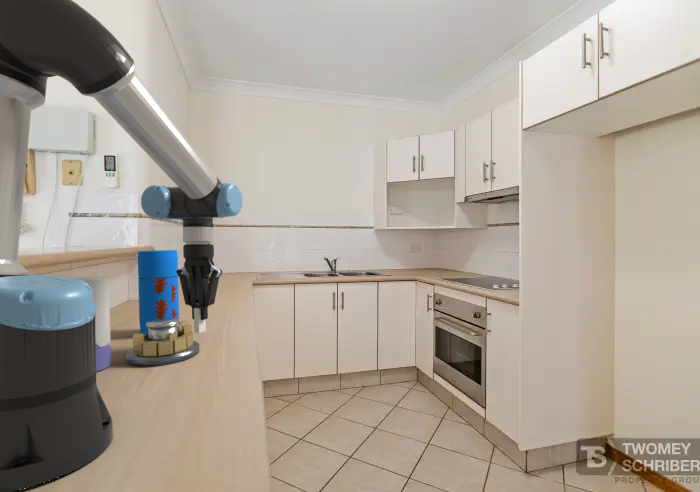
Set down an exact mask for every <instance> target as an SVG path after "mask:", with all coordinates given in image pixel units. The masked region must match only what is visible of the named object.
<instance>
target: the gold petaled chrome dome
mask: <svg viewBox="0 0 700 492" xmlns="http://www.w3.org/2000/svg"><path fill="white" fill-rule="evenodd" d="M193 341H194V333H193V331H192V325H191V324H189V321H188V320H180V323H179V324H178V337H177V333H175V332H172V333H167V340H162V341H149V332H148V333H144V334H143V333H140V332H139V333H133V334H132V342H133V343H132V345H133V347H132V349H133V353H134V355H138V356H143V357H146V356H158V355H159V356H162V355H169V354H173V353H178V352H181V351H184V350H186V349H189V348H190V347H191V346H193Z"/></svg>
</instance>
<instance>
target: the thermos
mask: <svg viewBox="0 0 700 492" xmlns="http://www.w3.org/2000/svg"><path fill="white" fill-rule="evenodd" d="M178 256H179V255H178V250H177V249H174V250H173V249H169V250H168V249H167V250H166V249H161V250H160V249H158V250H138V252H137V280H138V283H137V284H138V315H139V317H138V318H139V321H138V322H139V333H143V334H144V333H148V332H149V331H148V328H147V327H146V323H147V322H149V321H152V320H157V319H164V318H177V319H179V320H180V296H179V294H180V293H179V292H180V291H179V290H180V289H179V276H178V275H177V273H176V271H177V270H178V269H179V257H178Z"/></svg>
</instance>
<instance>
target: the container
mask: <svg viewBox="0 0 700 492" xmlns="http://www.w3.org/2000/svg"><path fill="white" fill-rule="evenodd" d="M75 278H76V279H80V280H82V281H84V282H86V283H88V284H89V285H90V287H91V288H92V291H93V298H94V304H95V307H96V313H95V314H96V315H95V336H96V373H97V372H100V371H103V370H105V369H107V368H109V367H110V366H111V365H112V346H111V345H112V344H111V341H112V340H111V339H112V338H111V313H110V307H111V306H110V281H109V280H110V279H109V277H107V276H83V277H82V276H81V277H75Z"/></svg>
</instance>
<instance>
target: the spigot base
mask: <svg viewBox="0 0 700 492" xmlns="http://www.w3.org/2000/svg"><path fill="white" fill-rule="evenodd" d="M180 321H181V320H180V318H179V319H177V318H164V319H157V320H152V321H149V322H147V323H146V327H147V328H148V331H149V341H162V340H167V333H172V332H175V333H177V337H178V324H179V323H180ZM198 354H200V343H199V342H198V341H196V340H193V346H191V347H190V348H189V349H186V350H184V351H181V352H178V353H173V354H169V355H162V356H159V355H158V356H146V357H143V356H138V355H134V353H133V348H131V349H129V350H128V351H126V353H125V364H127V365H129V366H133V367H138V368H139V367H142V368H143V367H144V368H145V367H147V368H149V367H150V368H151V367H152V368H153V367H161V366H167V365H172V364H177V363H181V362H184V361H186V360H189V359H192V358H193V357H196V356H197V355H198Z"/></svg>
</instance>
